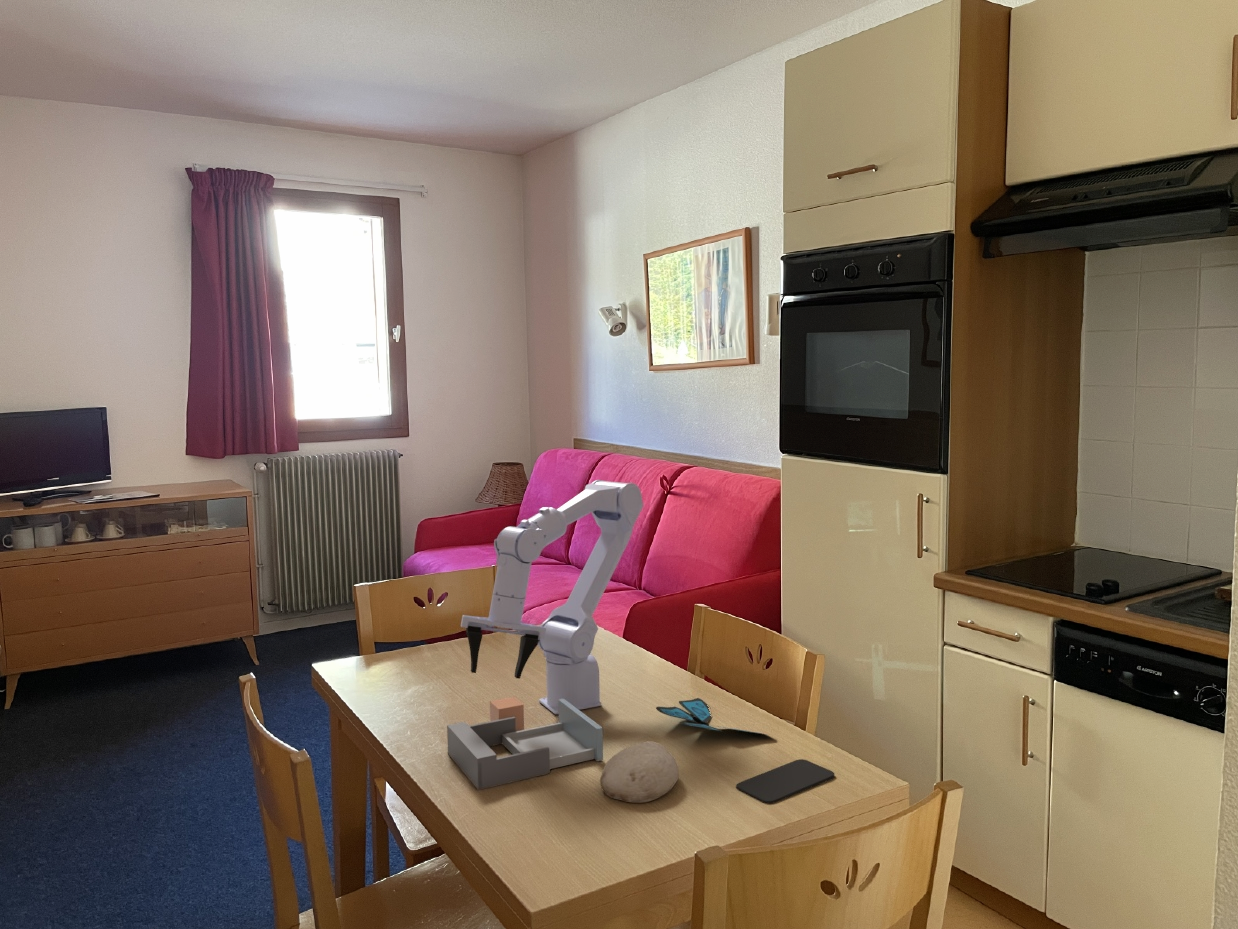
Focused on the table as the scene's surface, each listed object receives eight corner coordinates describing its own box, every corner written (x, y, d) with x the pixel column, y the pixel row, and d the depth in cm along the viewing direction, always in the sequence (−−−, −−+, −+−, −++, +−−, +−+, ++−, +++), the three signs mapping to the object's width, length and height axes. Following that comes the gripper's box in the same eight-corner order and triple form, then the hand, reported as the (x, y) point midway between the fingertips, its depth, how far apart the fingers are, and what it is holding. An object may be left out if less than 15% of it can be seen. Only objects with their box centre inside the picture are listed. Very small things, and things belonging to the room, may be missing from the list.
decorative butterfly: (638, 713, 163) (639, 698, 163) (703, 704, 171) (704, 689, 171) (707, 760, 146) (709, 742, 146) (775, 747, 154) (777, 730, 154)
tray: (564, 728, 159) (563, 698, 159) (602, 760, 146) (602, 727, 146) (499, 741, 154) (499, 710, 153) (534, 775, 141) (533, 742, 140)
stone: (628, 835, 132) (652, 802, 128) (581, 785, 136) (602, 751, 132) (676, 793, 142) (699, 761, 138) (630, 747, 146) (652, 715, 142)
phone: (732, 784, 137) (801, 757, 145) (732, 790, 137) (801, 762, 146) (768, 803, 131) (838, 773, 140) (768, 808, 131) (838, 779, 140)
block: (514, 724, 162) (514, 696, 162) (524, 732, 158) (523, 704, 158) (490, 728, 160) (489, 701, 160) (499, 737, 156) (498, 709, 156)
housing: (514, 739, 155) (513, 712, 155) (549, 773, 142) (549, 743, 141) (447, 753, 150) (447, 725, 149) (478, 790, 137) (477, 758, 136)
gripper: (469, 591, 153) (455, 673, 152) (553, 604, 157) (540, 684, 156) (465, 588, 160) (451, 666, 159) (546, 600, 164) (533, 677, 163)
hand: (495, 674), depth 158 cm, fingers open, 7 cm apart
